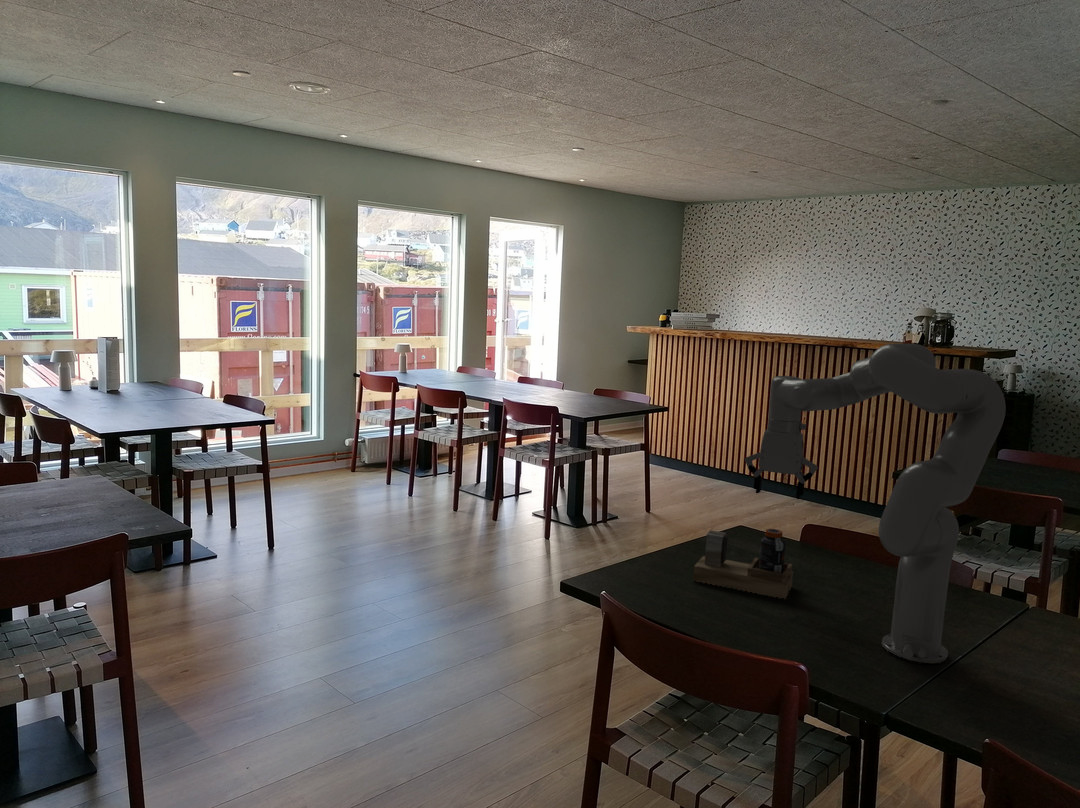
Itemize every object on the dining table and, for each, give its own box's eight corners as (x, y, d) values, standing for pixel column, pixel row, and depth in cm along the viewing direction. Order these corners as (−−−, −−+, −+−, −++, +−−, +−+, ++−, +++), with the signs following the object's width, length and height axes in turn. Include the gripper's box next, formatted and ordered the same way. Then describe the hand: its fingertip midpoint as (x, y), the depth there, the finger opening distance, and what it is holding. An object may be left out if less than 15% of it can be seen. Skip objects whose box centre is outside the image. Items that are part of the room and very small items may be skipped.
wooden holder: (785, 599, 190) (789, 552, 189) (692, 581, 200) (696, 535, 199) (791, 587, 199) (795, 541, 197) (702, 569, 209) (705, 526, 207)
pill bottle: (786, 578, 193) (789, 534, 191) (761, 578, 193) (765, 533, 191) (778, 570, 199) (782, 527, 197) (755, 569, 199) (759, 526, 197)
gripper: (822, 428, 191) (816, 496, 193) (750, 421, 198) (745, 487, 200) (819, 432, 184) (812, 503, 186) (744, 425, 191) (739, 493, 194)
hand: (778, 495), depth 193 cm, fingers open, 9 cm apart
